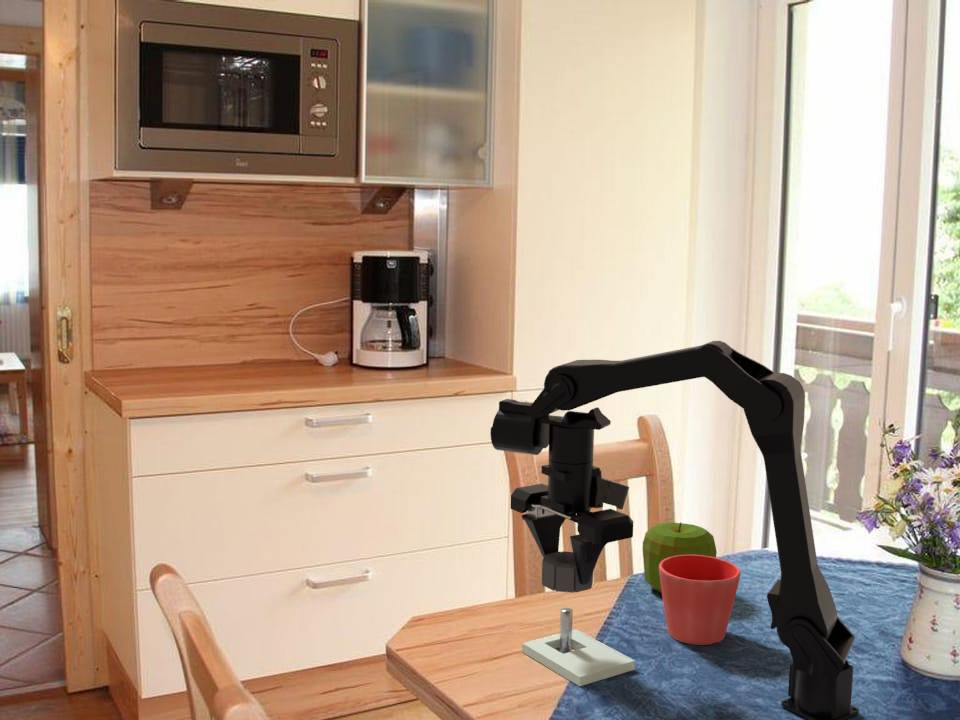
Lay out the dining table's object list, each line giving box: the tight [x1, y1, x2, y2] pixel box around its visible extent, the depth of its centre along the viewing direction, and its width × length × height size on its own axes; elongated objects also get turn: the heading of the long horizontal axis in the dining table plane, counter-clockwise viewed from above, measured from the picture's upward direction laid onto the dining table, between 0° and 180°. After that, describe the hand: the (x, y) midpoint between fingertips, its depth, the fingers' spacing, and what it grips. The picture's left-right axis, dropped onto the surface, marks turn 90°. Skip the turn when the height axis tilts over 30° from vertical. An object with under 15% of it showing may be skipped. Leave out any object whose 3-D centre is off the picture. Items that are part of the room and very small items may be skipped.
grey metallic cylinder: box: [558, 607, 574, 654], centre depth 139 cm, size 2×2×6 cm
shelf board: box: [521, 628, 636, 687], centre depth 138 cm, size 12×9×1 cm
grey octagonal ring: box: [541, 550, 594, 594], centre depth 138 cm, size 6×6×3 cm
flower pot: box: [659, 555, 741, 646], centre depth 146 cm, size 11×11×10 cm
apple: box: [642, 521, 718, 594], centre depth 163 cm, size 11×11×11 cm
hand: (567, 576), depth 138 cm, fingers closed on grey octagonal ring, 6 cm apart
